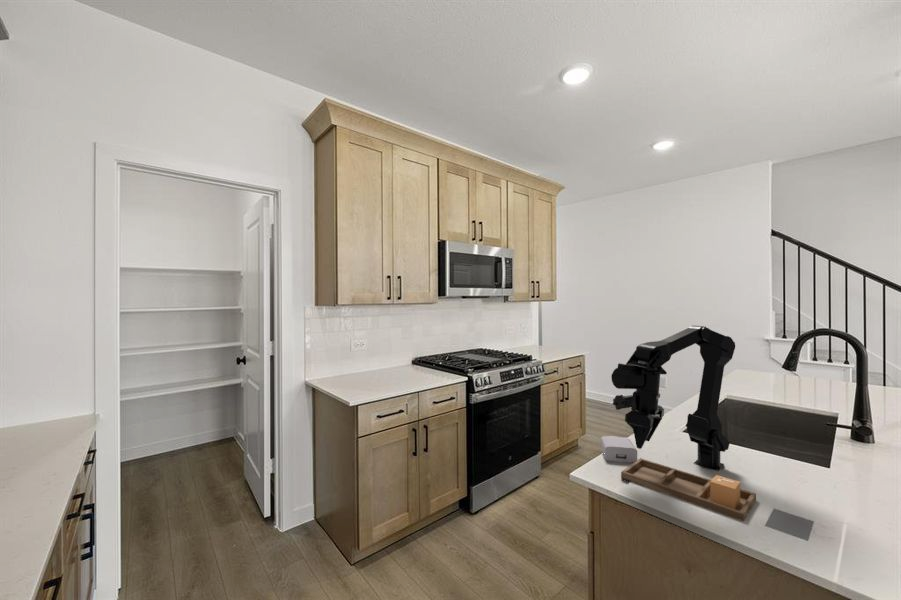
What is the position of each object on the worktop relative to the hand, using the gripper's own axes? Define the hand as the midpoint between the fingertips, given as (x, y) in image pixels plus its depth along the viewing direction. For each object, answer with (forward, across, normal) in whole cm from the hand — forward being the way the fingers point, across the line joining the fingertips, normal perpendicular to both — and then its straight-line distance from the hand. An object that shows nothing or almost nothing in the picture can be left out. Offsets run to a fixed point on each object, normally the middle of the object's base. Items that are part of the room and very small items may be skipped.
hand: (643, 444), depth 108 cm
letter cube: (+8, +1, +20) cm, 21 cm away
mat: (+8, +3, +31) cm, 32 cm away
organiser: (+9, 0, +11) cm, 14 cm away
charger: (+10, -15, -11) cm, 21 cm away
